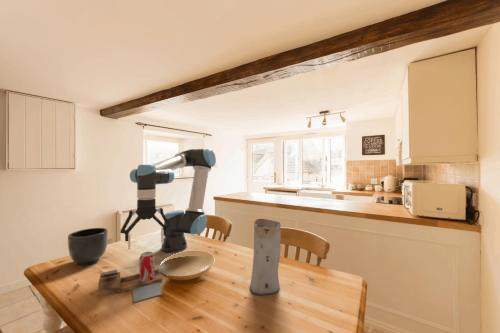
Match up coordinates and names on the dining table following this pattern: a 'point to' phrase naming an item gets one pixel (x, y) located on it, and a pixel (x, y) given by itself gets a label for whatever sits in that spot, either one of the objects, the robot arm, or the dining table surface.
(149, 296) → the mat
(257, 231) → the vase
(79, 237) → the planter
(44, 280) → the dining table surface
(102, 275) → the blue-grey rectangular panel
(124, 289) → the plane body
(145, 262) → the beverage can
